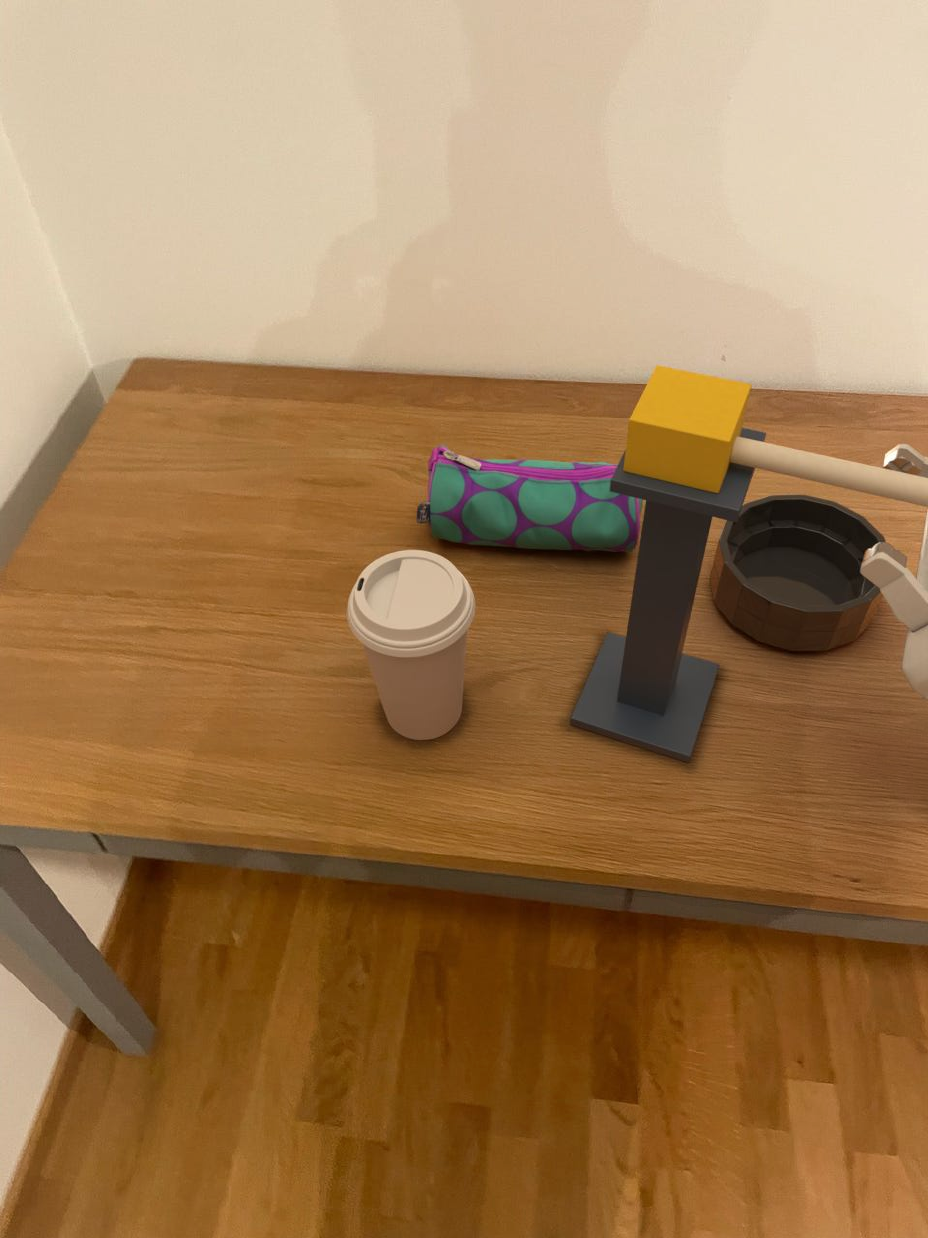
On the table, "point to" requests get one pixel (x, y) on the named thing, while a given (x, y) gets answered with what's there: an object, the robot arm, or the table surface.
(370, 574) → the coffee cup
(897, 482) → the sponge wand
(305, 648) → the table surface
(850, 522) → the bowl
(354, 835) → the table surface
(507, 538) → the pencil case
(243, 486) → the table surface
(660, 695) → the stand
